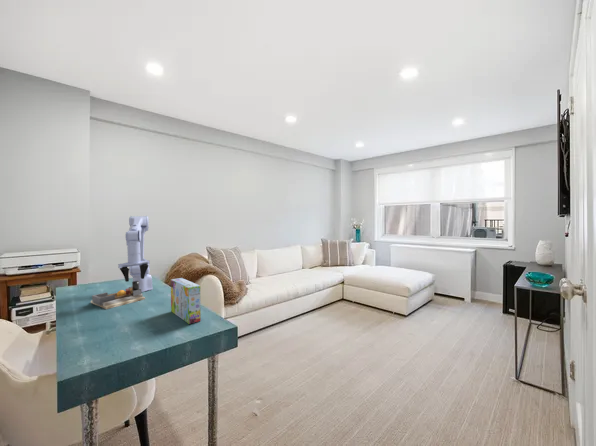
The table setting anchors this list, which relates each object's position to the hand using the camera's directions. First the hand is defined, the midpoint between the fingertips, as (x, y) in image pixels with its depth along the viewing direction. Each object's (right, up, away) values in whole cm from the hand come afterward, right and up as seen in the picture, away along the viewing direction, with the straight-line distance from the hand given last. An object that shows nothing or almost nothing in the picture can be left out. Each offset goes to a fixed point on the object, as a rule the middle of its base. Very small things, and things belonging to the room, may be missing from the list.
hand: (134, 279), depth 146 cm
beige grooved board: (-8, -11, -1) cm, 13 cm away
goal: (-12, -10, -6) cm, 17 cm away
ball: (-8, -8, +1) cm, 11 cm away
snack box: (+36, -11, -24) cm, 44 cm away
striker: (-3, -9, +3) cm, 10 cm away
